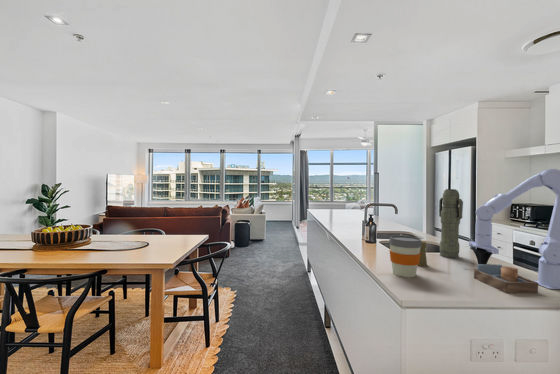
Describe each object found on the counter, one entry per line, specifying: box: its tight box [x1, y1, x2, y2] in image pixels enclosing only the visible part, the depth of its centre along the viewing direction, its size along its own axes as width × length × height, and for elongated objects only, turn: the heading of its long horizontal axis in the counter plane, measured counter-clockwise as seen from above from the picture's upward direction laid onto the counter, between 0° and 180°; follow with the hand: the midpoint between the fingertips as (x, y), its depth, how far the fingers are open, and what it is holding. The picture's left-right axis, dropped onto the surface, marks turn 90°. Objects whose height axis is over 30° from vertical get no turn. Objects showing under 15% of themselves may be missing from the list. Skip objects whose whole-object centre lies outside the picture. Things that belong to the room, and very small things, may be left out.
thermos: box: [438, 188, 464, 259], centre depth 157 cm, size 9×12×35 cm
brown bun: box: [501, 265, 519, 282], centre depth 111 cm, size 5×5×5 cm
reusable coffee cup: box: [388, 234, 422, 278], centre depth 125 cm, size 13×13×15 cm
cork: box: [417, 240, 428, 267], centre depth 140 cm, size 6×6×11 cm
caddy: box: [473, 268, 539, 294], centre depth 114 cm, size 16×12×4 cm
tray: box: [476, 263, 527, 282], centre depth 115 cm, size 14×10×4 cm
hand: (482, 266), depth 125 cm, fingers closed
